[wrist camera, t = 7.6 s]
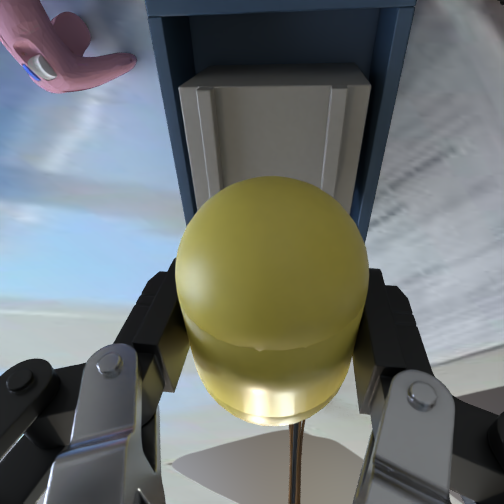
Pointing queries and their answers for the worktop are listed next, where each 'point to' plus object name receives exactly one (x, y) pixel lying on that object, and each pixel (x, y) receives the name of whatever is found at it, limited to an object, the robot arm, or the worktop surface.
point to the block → (275, 125)
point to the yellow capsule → (272, 297)
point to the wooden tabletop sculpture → (295, 461)
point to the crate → (284, 62)
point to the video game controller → (56, 48)
